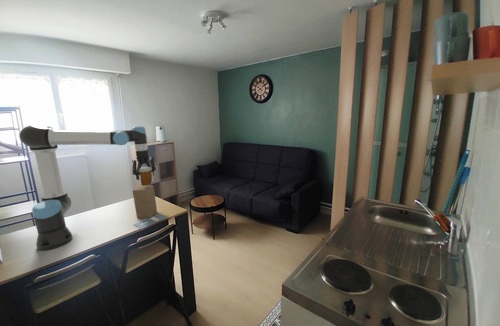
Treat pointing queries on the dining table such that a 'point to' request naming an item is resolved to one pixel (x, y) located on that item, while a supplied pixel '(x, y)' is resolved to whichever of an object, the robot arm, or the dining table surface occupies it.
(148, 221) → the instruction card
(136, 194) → the wooden block
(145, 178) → the disposable coffee cup
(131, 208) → the dining table surface
